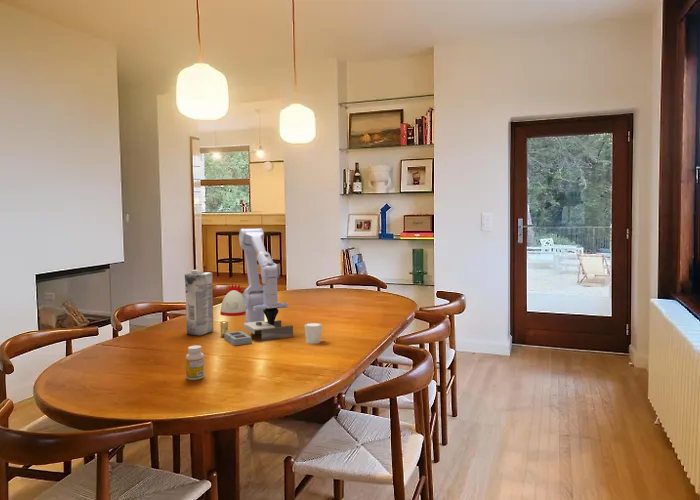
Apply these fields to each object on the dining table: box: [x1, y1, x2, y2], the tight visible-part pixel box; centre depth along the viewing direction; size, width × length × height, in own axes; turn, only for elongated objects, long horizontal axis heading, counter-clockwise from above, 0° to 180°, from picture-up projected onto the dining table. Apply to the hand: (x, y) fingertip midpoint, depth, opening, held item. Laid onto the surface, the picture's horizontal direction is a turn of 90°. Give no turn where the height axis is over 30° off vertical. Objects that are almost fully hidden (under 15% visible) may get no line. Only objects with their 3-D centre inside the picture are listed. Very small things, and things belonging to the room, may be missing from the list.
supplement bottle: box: [185, 344, 205, 381], centre depth 162 cm, size 5×5×10 cm
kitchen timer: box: [219, 283, 247, 317], centre depth 262 cm, size 14×14×15 cm
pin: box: [219, 320, 229, 338], centre depth 215 cm, size 3×3×6 cm
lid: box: [243, 321, 275, 335], centre depth 213 cm, size 13×9×3 cm
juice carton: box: [184, 269, 214, 336], centre depth 220 cm, size 9×10×27 cm
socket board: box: [224, 330, 253, 347], centre depth 207 cm, size 12×7×2 cm, turn 31°
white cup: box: [304, 322, 323, 345], centre depth 205 cm, size 7×7×7 cm
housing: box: [250, 319, 294, 342], centre depth 216 cm, size 13×14×4 cm
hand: (271, 326), depth 216 cm, fingers closed
